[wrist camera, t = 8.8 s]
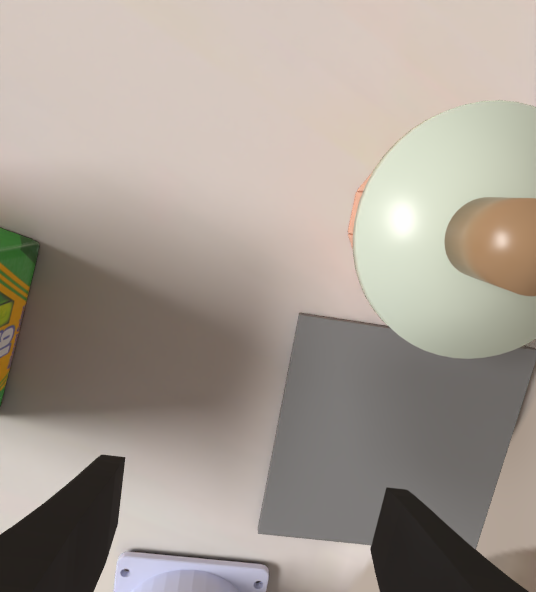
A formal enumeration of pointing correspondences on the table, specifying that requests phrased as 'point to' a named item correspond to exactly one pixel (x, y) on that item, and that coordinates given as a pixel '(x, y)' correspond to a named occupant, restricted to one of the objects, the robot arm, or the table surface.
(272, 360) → the table surface
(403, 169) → the lid
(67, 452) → the table surface
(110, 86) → the table surface
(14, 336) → the chalk box
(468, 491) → the mat
